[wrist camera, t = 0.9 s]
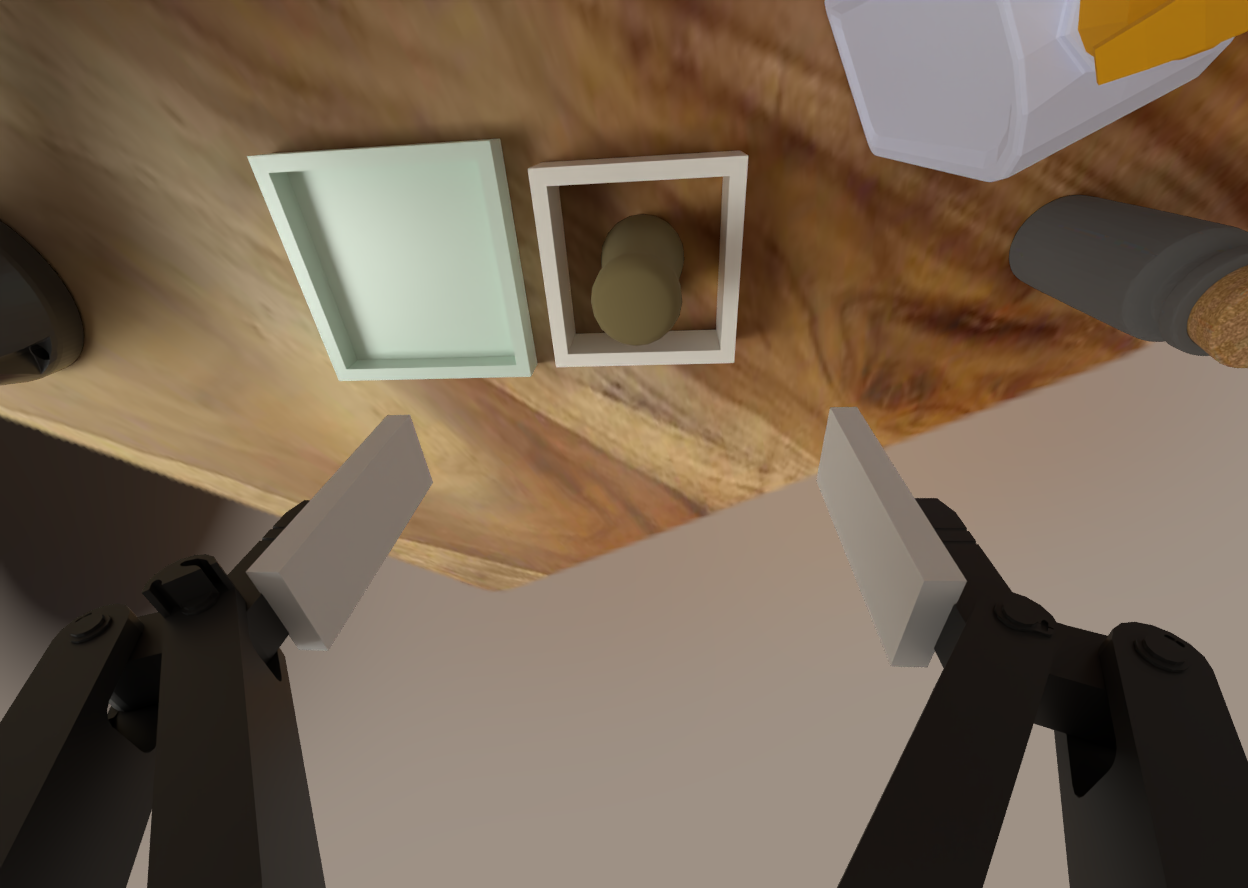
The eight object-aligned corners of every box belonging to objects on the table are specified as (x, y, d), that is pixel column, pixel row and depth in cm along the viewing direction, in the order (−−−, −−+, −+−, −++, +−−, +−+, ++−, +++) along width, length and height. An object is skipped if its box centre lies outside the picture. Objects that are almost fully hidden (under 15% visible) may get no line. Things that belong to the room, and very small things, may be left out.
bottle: (997, 229, 34) (1189, 301, 22) (1098, 173, 32) (1376, 217, 19) (1018, 301, 36) (1201, 402, 24) (1113, 253, 34) (1368, 337, 22)
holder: (564, 345, 41) (556, 367, 37) (541, 162, 34) (527, 168, 30) (728, 341, 40) (734, 362, 36) (739, 150, 32) (748, 155, 29)
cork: (693, 286, 37) (702, 344, 28) (616, 310, 39) (602, 373, 30) (671, 201, 34) (673, 235, 25) (588, 230, 36) (562, 273, 27)
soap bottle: (807, 7, 28) (1096, -190, 9) (938, -87, 26) (1682, -610, 7) (858, 163, 32) (1134, 244, 13) (976, 93, 30) (1515, 71, 11)
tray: (354, 368, 43) (339, 380, 41) (271, 153, 34) (246, 156, 32) (537, 363, 42) (531, 376, 40) (500, 138, 33) (489, 140, 31)
